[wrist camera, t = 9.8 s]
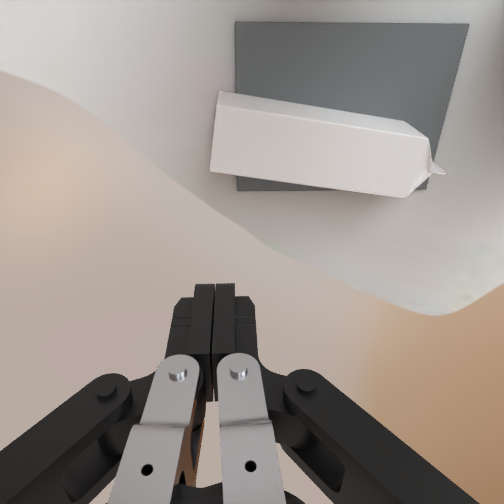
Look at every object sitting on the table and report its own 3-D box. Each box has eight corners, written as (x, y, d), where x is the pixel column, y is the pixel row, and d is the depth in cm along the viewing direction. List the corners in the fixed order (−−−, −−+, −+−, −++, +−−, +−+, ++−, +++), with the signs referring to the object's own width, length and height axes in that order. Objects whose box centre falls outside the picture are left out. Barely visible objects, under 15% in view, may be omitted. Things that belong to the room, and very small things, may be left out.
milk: (215, 104, 33) (463, 142, 35) (218, 89, 38) (434, 123, 40) (208, 173, 36) (436, 203, 38) (211, 151, 41) (412, 179, 44)
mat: (235, 21, 35) (235, 22, 35) (466, 23, 36) (469, 24, 36) (237, 189, 44) (237, 191, 43) (424, 187, 45) (425, 189, 44)
